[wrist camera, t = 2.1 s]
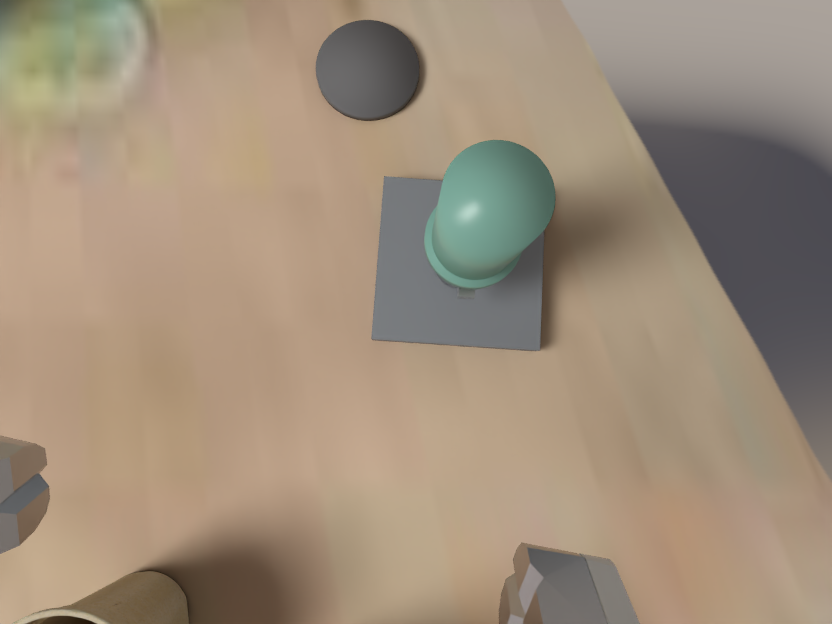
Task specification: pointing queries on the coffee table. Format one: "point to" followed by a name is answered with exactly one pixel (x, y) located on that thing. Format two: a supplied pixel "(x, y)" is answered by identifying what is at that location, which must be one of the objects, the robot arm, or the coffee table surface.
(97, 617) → the flower pot
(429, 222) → the cap
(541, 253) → the post slab
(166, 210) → the coffee table surface
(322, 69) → the pad
